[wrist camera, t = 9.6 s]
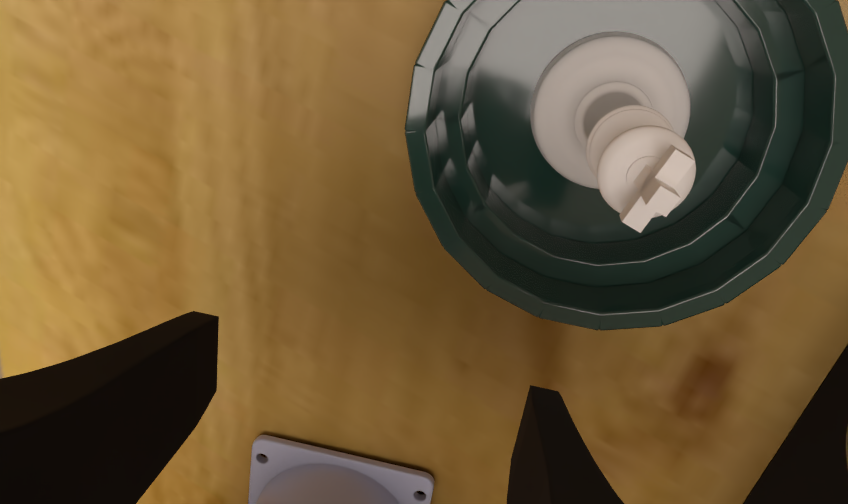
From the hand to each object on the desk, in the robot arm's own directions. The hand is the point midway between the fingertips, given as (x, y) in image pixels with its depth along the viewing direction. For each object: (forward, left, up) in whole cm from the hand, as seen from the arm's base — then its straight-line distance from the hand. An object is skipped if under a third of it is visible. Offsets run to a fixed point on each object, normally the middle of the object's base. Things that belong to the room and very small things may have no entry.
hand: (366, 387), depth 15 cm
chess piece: (+5, -5, -10) cm, 12 cm away
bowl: (+5, -5, -10) cm, 13 cm away
